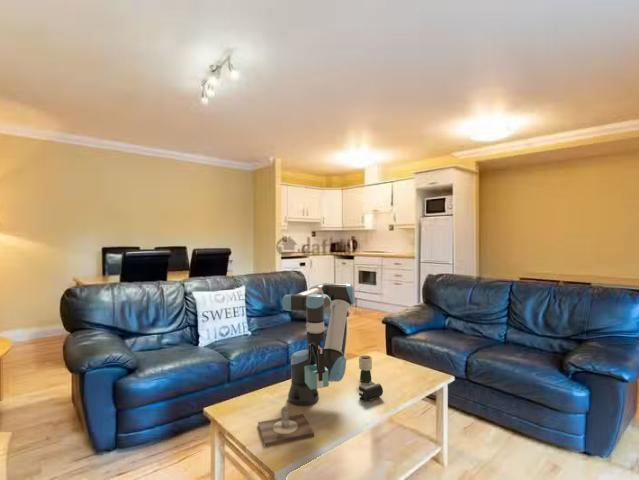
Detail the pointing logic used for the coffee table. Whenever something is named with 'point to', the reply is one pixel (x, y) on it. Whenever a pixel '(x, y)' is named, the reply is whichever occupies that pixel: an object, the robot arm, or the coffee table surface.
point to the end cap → (370, 391)
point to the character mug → (365, 367)
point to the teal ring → (314, 377)
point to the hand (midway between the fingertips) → (316, 383)
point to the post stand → (285, 428)
